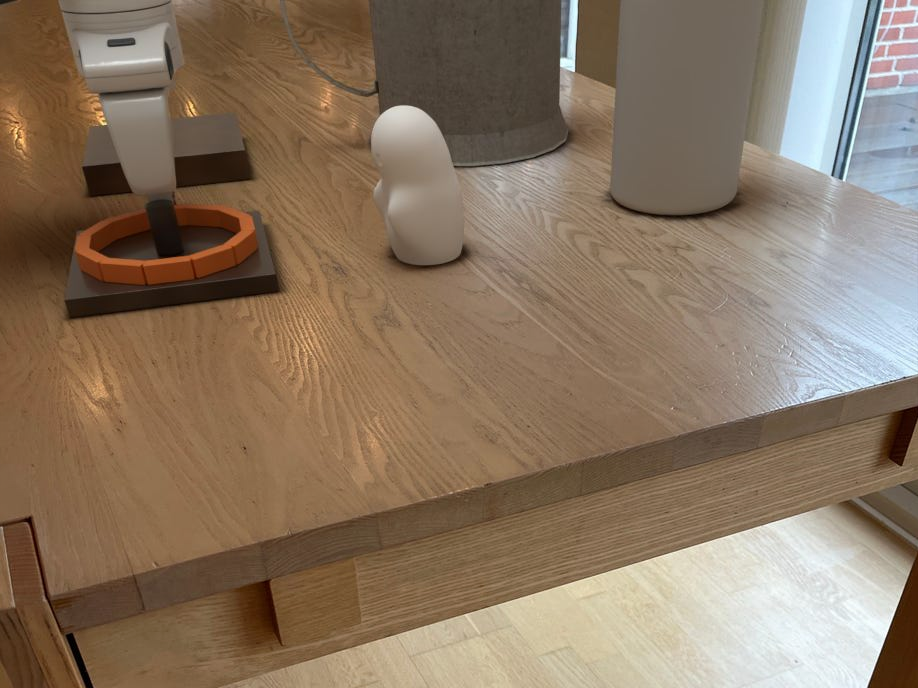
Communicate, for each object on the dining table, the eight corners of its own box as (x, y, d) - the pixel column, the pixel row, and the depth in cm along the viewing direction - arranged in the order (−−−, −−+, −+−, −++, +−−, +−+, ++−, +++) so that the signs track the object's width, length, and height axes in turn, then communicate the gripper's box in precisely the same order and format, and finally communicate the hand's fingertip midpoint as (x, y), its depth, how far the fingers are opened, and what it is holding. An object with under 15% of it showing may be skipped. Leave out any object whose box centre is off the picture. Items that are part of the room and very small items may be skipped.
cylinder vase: (706, 173, 101) (742, -129, 84) (756, 210, 92) (808, -121, 75) (593, 185, 99) (607, -122, 82) (633, 223, 90) (658, -112, 73)
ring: (76, 294, 77) (70, 274, 76) (86, 232, 88) (80, 214, 87) (263, 271, 80) (260, 251, 79) (250, 214, 91) (247, 196, 90)
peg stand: (69, 317, 77) (47, 249, 74) (81, 247, 90) (62, 185, 86) (278, 291, 80) (266, 224, 77) (262, 226, 93) (251, 165, 89)
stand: (90, 196, 101) (81, 166, 99) (97, 153, 114) (89, 126, 112) (250, 179, 104) (245, 149, 102) (240, 139, 117) (235, 112, 115)
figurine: (373, 246, 88) (358, 100, 80) (452, 235, 89) (445, 90, 81) (392, 273, 82) (378, 120, 74) (475, 261, 84) (470, 109, 76)
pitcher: (589, 155, 107) (601, -130, 90) (306, 182, 103) (263, -110, 86) (543, 104, 124) (545, -145, 107) (298, 125, 120) (261, -129, 103)
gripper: (93, 27, 87) (135, 188, 96) (81, 74, 72) (131, 259, 81) (164, 22, 88) (199, 181, 97) (166, 66, 73) (207, 250, 82)
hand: (168, 217), depth 89 cm, fingers open, 5 cm apart
